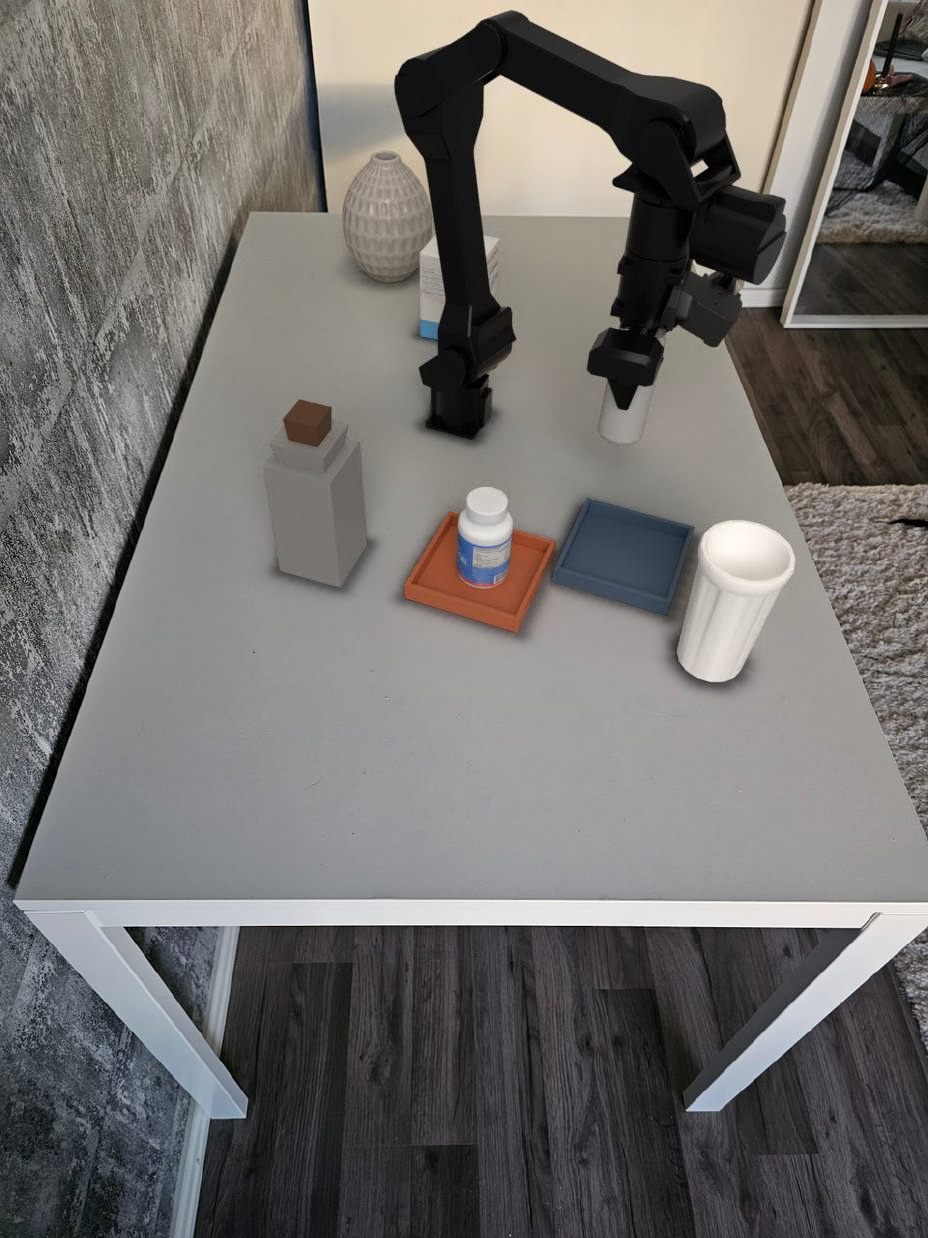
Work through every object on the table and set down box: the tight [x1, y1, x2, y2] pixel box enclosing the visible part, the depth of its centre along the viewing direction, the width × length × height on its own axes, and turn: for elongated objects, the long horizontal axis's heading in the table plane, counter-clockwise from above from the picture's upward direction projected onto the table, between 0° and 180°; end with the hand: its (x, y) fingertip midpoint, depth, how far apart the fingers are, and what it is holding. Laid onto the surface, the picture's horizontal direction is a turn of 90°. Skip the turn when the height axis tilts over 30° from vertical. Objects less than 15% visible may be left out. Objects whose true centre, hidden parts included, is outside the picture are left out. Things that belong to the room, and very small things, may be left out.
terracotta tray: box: [403, 510, 557, 634], centre depth 93 cm, size 12×12×2 cm
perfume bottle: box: [262, 399, 368, 588], centre depth 88 cm, size 7×7×18 cm
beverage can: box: [597, 326, 667, 447], centre depth 92 cm, size 5×5×12 cm
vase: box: [341, 150, 433, 284], centre depth 129 cm, size 13×13×17 cm
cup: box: [676, 519, 797, 683], centre depth 82 cm, size 8×8×14 cm
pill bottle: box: [457, 486, 514, 589], centre depth 90 cm, size 6×5×10 cm
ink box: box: [419, 234, 501, 340], centre depth 121 cm, size 9×8×13 cm
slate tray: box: [551, 497, 696, 616], centre depth 95 cm, size 12×12×2 cm
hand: (629, 395), depth 93 cm, fingers closed on beverage can, 5 cm apart
